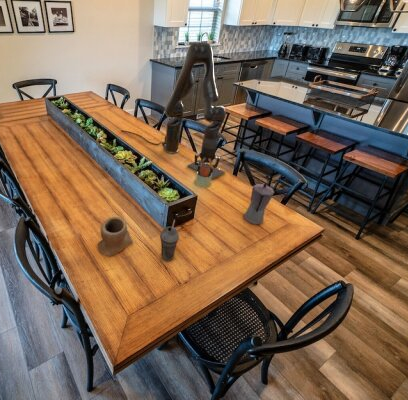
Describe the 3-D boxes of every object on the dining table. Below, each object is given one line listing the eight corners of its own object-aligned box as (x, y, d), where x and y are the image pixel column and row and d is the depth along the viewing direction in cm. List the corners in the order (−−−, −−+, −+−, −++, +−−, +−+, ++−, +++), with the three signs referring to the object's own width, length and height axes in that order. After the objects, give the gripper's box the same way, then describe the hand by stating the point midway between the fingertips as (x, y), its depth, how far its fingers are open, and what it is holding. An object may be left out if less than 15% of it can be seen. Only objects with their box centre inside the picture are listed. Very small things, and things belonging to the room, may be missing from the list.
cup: (192, 182, 156) (193, 173, 152) (201, 177, 161) (203, 168, 157) (203, 189, 151) (205, 179, 147) (213, 183, 156) (215, 174, 152)
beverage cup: (157, 250, 112) (160, 213, 100) (175, 250, 113) (179, 213, 101) (159, 264, 106) (162, 227, 94) (177, 263, 107) (182, 226, 95)
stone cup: (109, 264, 105) (106, 236, 96) (93, 246, 112) (90, 219, 103) (140, 246, 113) (140, 219, 104) (123, 231, 120) (122, 204, 111)
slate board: (187, 167, 170) (187, 165, 169) (199, 161, 177) (199, 159, 176) (212, 180, 159) (213, 178, 158) (224, 173, 166) (225, 171, 165)
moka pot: (264, 212, 136) (276, 179, 124) (263, 232, 125) (276, 197, 113) (245, 208, 139) (255, 175, 127) (242, 226, 127) (253, 192, 115)
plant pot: (195, 181, 155) (198, 165, 149) (202, 178, 159) (205, 161, 152) (203, 186, 152) (206, 169, 145) (209, 182, 155) (213, 165, 149)
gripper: (223, 143, 143) (217, 171, 153) (196, 140, 145) (192, 167, 155) (222, 149, 137) (217, 177, 147) (195, 145, 139) (191, 173, 149)
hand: (204, 172), depth 151 cm, fingers closed on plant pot, 6 cm apart
